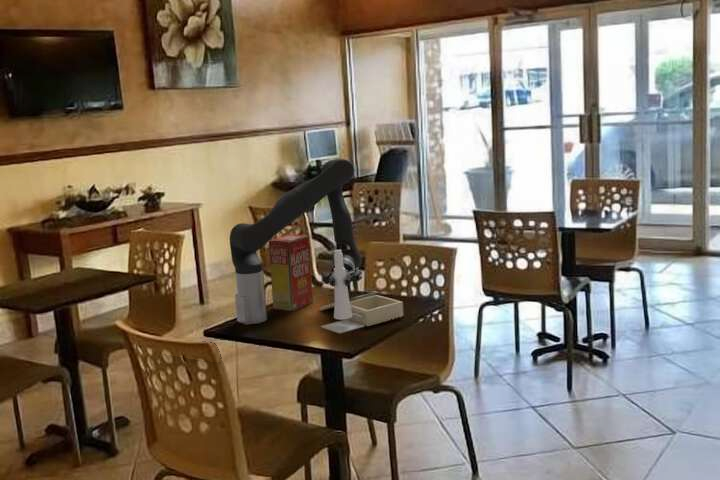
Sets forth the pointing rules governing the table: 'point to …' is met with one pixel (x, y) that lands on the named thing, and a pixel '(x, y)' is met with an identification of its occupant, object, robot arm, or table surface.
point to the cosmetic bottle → (340, 289)
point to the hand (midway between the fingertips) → (339, 283)
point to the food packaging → (290, 272)
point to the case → (374, 309)
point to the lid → (334, 303)
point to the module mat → (342, 326)
